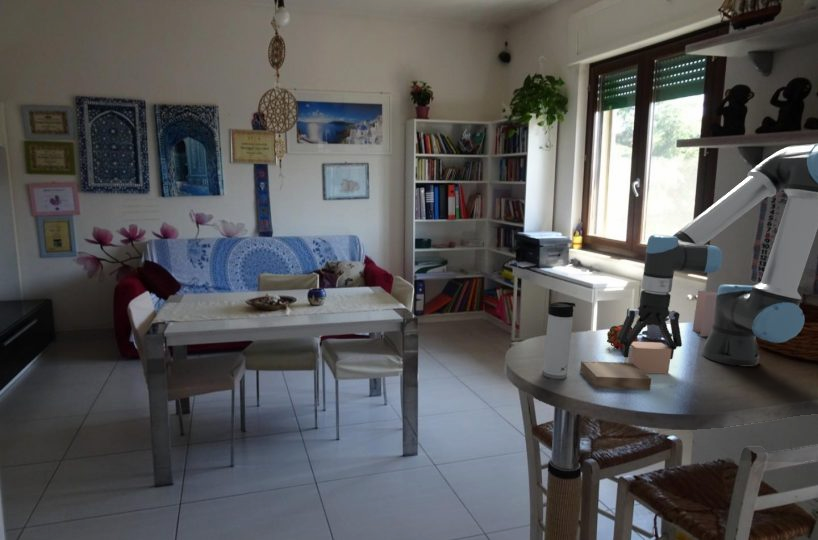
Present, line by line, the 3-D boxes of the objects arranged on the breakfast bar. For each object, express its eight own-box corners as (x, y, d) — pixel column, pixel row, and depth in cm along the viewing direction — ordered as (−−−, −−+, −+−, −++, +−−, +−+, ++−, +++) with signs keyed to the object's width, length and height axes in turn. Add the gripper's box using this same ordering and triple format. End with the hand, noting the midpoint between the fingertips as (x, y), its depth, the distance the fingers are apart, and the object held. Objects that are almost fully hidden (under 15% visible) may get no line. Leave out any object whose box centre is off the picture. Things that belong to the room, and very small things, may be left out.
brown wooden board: (630, 373, 153) (631, 362, 152) (650, 390, 141) (651, 378, 141) (580, 371, 153) (581, 360, 152) (595, 387, 141) (596, 376, 140)
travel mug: (569, 381, 145) (576, 306, 141) (543, 378, 146) (550, 303, 143) (567, 372, 151) (574, 300, 147) (542, 370, 152) (549, 298, 149)
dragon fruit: (603, 354, 174) (630, 356, 179) (624, 345, 167) (651, 347, 173) (596, 329, 177) (623, 331, 183) (616, 319, 171) (643, 322, 176)
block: (658, 366, 160) (661, 342, 158) (668, 373, 154) (671, 349, 152) (623, 364, 159) (626, 341, 158) (632, 372, 153) (635, 347, 152)
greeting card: (728, 335, 198) (734, 294, 195) (730, 340, 191) (737, 298, 189) (692, 330, 202) (698, 290, 200) (693, 335, 196) (699, 293, 193)
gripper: (620, 292, 149) (610, 371, 152) (703, 296, 149) (692, 375, 153) (610, 286, 156) (600, 362, 160) (689, 290, 157) (678, 366, 160)
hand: (645, 368), depth 156 cm, fingers closed on block, 10 cm apart
